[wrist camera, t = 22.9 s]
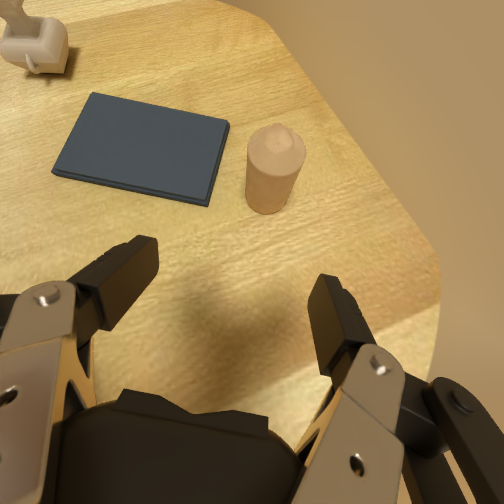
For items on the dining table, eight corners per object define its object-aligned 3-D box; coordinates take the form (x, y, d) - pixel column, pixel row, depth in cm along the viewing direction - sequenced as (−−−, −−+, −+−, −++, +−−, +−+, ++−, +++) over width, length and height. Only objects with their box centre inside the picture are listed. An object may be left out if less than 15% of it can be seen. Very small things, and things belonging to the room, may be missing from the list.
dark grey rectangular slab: (56, 175, 26) (45, 169, 25) (94, 98, 29) (87, 88, 28) (207, 207, 26) (206, 202, 25) (229, 127, 29) (229, 118, 28)
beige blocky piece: (71, 88, 29) (6, 6, 21) (22, 87, 29) (-63, 3, 21) (81, 43, 32) (25, -47, 23) (36, 41, 31) (-37, -51, 23)
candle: (293, 204, 27) (323, 150, 17) (257, 221, 26) (267, 174, 16) (274, 171, 28) (291, 103, 18) (238, 186, 27) (237, 123, 17)
